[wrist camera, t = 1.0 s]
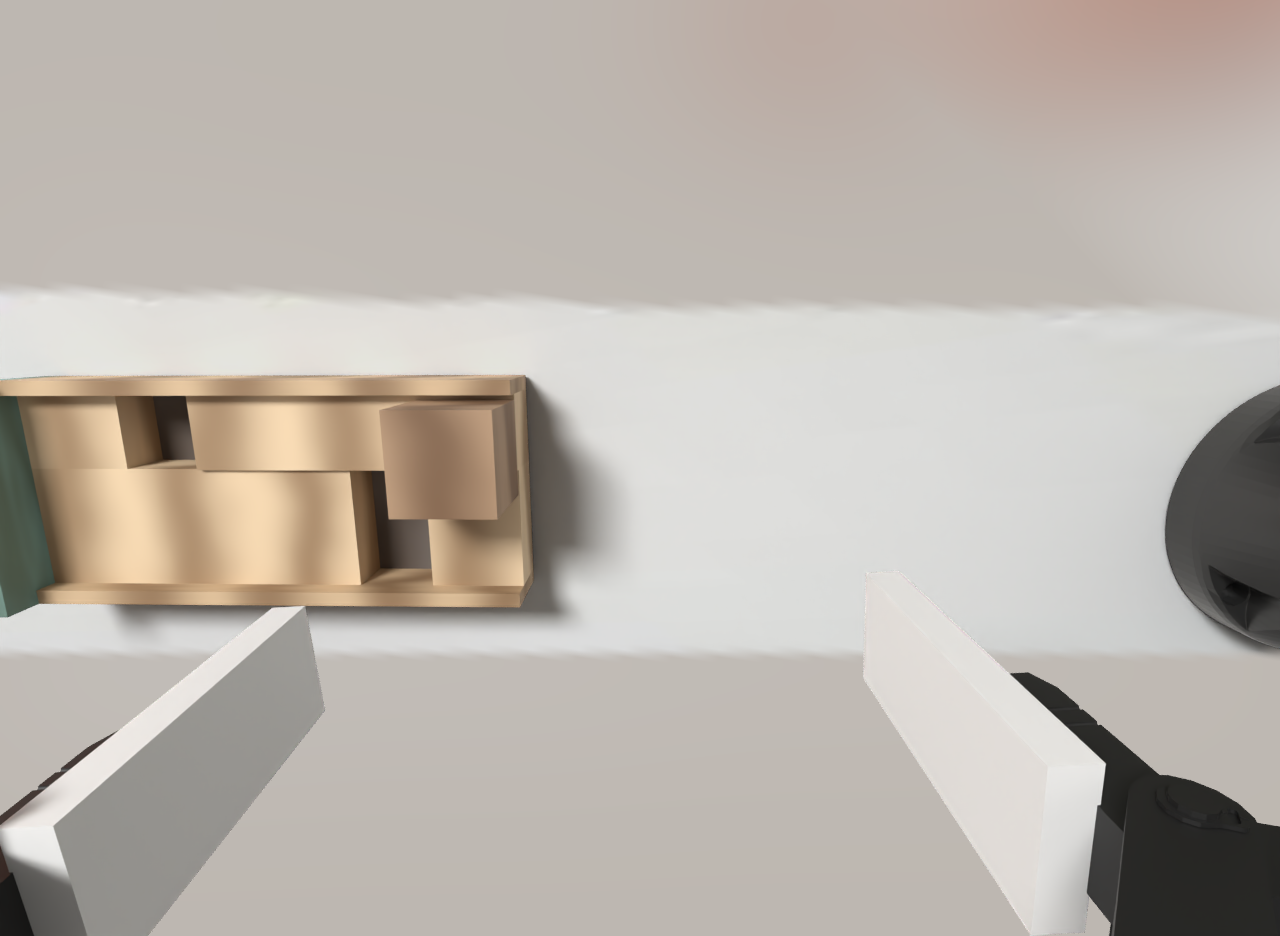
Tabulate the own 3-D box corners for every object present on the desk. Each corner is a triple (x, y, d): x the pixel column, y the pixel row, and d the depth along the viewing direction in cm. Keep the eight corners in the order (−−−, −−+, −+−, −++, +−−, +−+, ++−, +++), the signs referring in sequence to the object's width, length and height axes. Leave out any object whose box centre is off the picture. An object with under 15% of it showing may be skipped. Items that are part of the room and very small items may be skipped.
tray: (525, 375, 35) (501, 382, 30) (533, 580, 37) (512, 621, 32) (47, 376, 36) (-61, 383, 30) (87, 577, 38) (-7, 617, 33)
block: (514, 399, 32) (491, 410, 28) (518, 495, 33) (497, 519, 29) (416, 399, 32) (379, 410, 28) (424, 494, 33) (388, 519, 29)
